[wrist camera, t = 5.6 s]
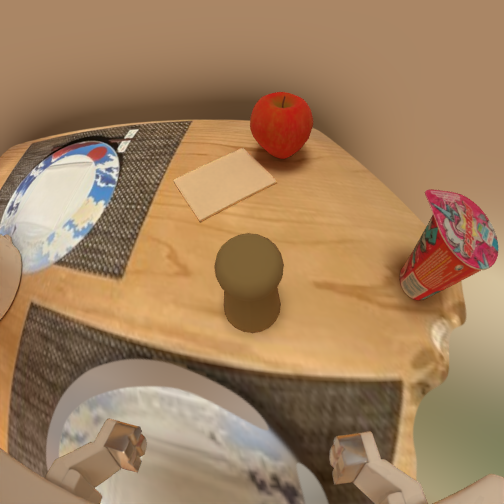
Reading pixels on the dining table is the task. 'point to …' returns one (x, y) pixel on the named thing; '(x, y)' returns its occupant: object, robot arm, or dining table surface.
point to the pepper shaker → (250, 281)
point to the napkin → (223, 183)
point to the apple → (281, 123)
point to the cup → (449, 246)
